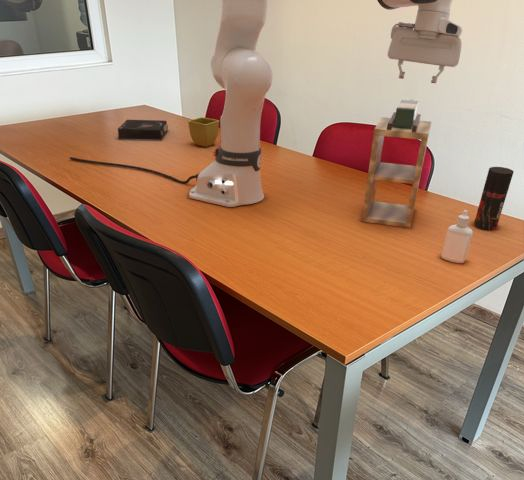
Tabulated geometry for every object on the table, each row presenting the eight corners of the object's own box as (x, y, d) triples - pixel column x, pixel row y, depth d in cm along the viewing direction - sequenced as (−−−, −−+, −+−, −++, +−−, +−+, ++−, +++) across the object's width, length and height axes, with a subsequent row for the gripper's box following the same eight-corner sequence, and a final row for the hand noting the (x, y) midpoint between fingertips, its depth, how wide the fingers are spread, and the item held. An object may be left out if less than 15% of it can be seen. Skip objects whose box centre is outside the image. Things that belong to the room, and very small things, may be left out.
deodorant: (494, 231, 137) (511, 175, 128) (471, 226, 140) (486, 170, 131) (498, 224, 141) (515, 169, 132) (476, 220, 144) (491, 165, 135)
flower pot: (220, 144, 202) (219, 120, 197) (206, 149, 196) (205, 124, 191) (202, 141, 206) (201, 117, 201) (188, 145, 200) (187, 120, 195)
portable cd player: (161, 140, 205) (160, 130, 203) (119, 139, 205) (117, 128, 203) (168, 130, 219) (167, 120, 216) (128, 129, 219) (127, 119, 216)
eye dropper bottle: (454, 265, 120) (467, 216, 113) (437, 256, 124) (449, 208, 117) (468, 262, 122) (481, 213, 115) (451, 253, 126) (463, 205, 119)
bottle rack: (361, 221, 141) (375, 122, 126) (368, 204, 152) (382, 111, 137) (409, 228, 138) (429, 127, 123) (413, 210, 149) (432, 115, 134)
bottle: (411, 129, 127) (414, 109, 125) (393, 127, 128) (396, 108, 126) (417, 113, 143) (420, 95, 140) (401, 111, 144) (404, 94, 141)
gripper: (393, 19, 144) (381, 75, 150) (468, 28, 140) (452, 85, 147) (393, 22, 149) (382, 76, 156) (466, 31, 146) (451, 86, 152)
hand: (417, 80), depth 151 cm, fingers open, 8 cm apart
